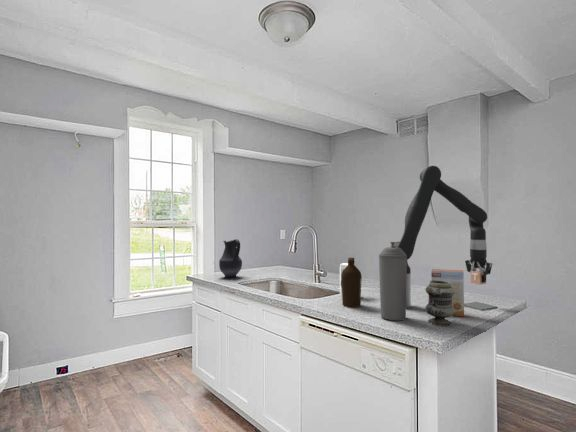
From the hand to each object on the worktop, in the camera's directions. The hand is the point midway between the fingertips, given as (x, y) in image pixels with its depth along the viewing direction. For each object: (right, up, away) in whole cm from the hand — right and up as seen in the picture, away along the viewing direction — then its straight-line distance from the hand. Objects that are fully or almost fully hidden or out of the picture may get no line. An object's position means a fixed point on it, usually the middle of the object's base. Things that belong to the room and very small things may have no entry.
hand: (478, 281), depth 185 cm
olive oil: (-64, -14, +5) cm, 66 cm away
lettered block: (0, -1, 0) cm, 1 cm away
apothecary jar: (-31, -13, -27) cm, 44 cm away
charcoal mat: (0, -13, 0) cm, 13 cm away
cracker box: (-22, -13, -14) cm, 29 cm away
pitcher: (-141, -14, +92) cm, 169 cm away
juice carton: (-63, -14, +26) cm, 69 cm away
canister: (-49, -13, -19) cm, 55 cm away
